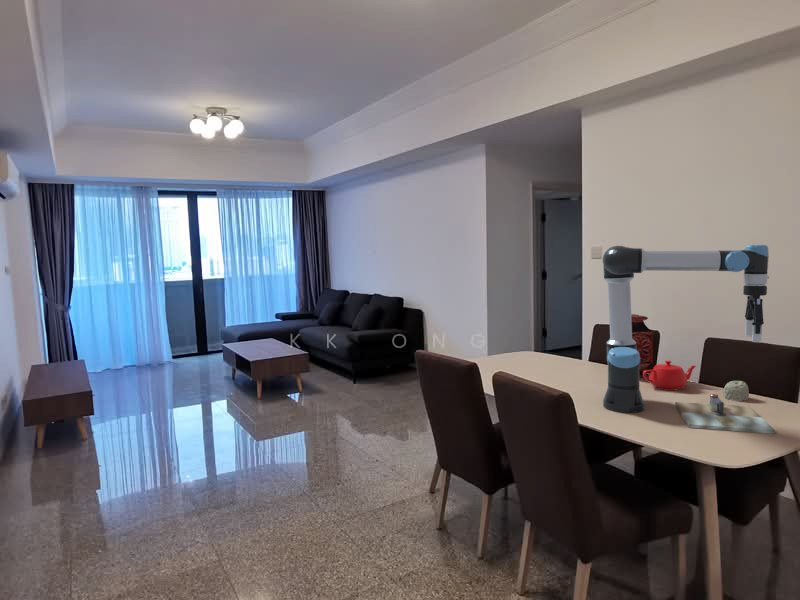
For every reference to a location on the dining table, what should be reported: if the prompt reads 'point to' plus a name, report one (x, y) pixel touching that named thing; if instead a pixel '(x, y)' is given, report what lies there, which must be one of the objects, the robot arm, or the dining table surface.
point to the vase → (642, 341)
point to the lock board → (723, 417)
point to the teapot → (668, 376)
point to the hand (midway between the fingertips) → (752, 339)
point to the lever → (715, 402)
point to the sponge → (736, 391)
